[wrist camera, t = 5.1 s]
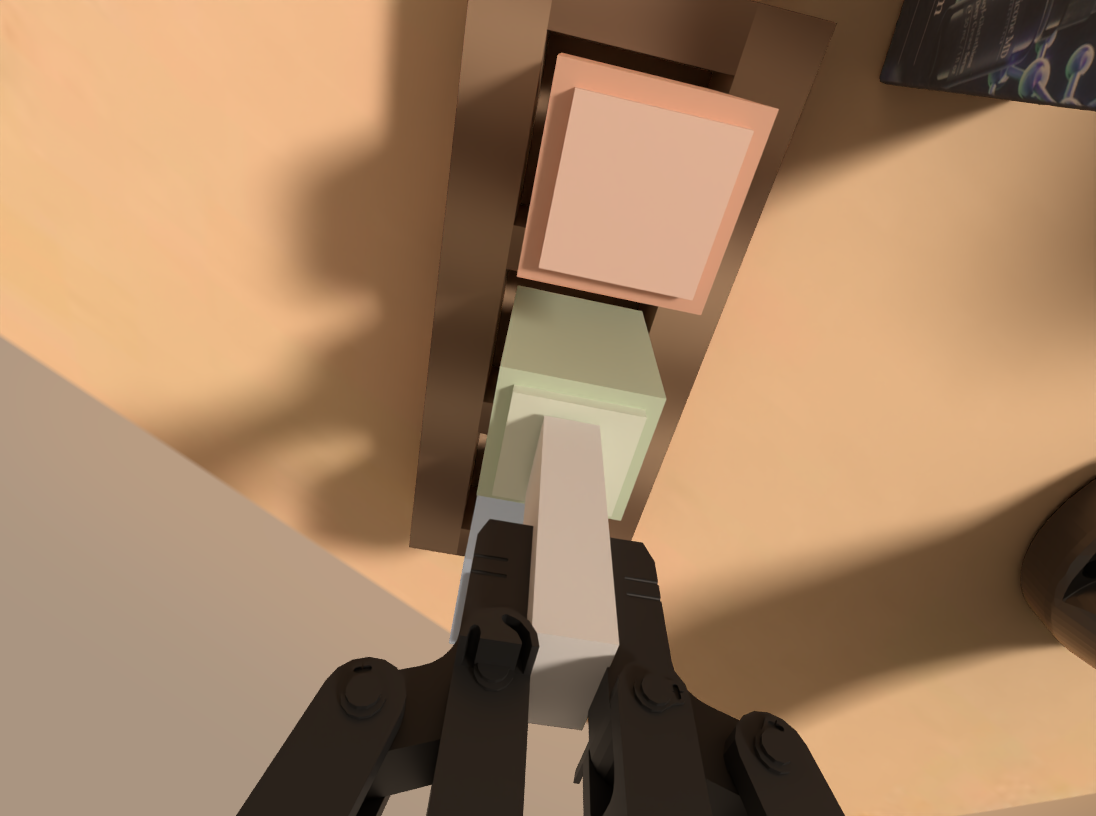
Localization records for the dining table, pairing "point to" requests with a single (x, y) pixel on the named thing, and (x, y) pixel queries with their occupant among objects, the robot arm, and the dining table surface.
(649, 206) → the salmon pink block
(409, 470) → the dining table surface
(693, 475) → the dining table surface
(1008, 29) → the box
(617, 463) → the sage button
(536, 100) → the wooden tray
